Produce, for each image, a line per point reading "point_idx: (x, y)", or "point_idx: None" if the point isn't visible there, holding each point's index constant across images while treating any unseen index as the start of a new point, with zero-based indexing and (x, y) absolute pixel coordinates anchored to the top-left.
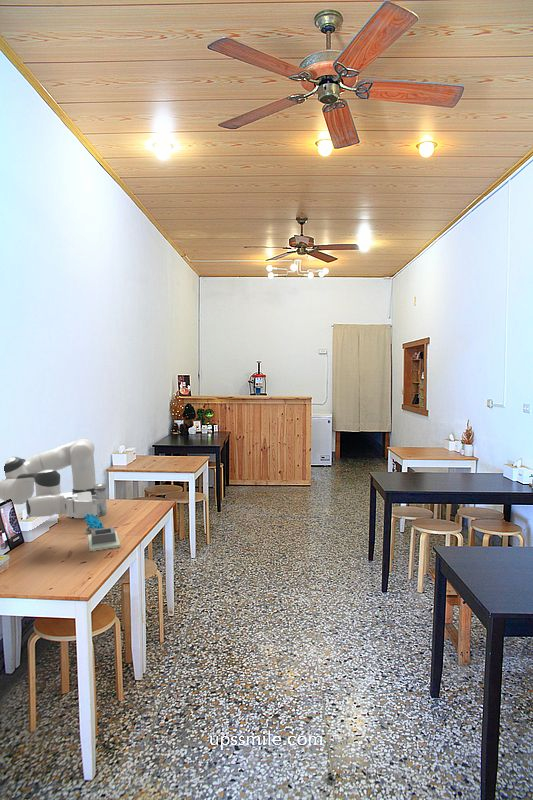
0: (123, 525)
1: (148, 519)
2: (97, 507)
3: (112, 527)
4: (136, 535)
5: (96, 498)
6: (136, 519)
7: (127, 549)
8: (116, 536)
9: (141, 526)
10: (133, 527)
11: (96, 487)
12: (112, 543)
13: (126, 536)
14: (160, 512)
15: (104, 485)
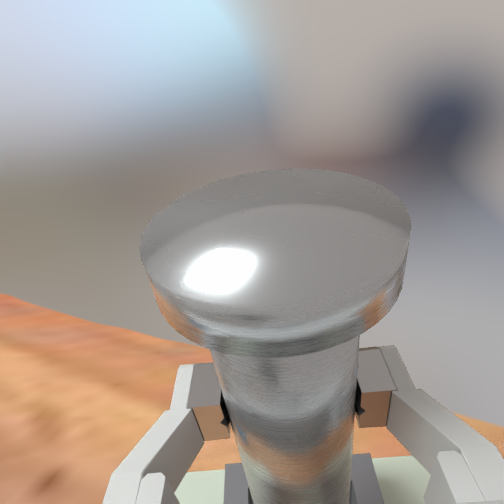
0: (53, 439)
1: (65, 339)
2: (332, 497)
3: (234, 472)
4: None
5: (314, 442)
6: (17, 380)
7: (470, 424)
8: None
9: (138, 363)
10: (126, 394)
11: (400, 274)
12: (411, 501)
13: None
14: (20, 305)
15: (360, 179)
